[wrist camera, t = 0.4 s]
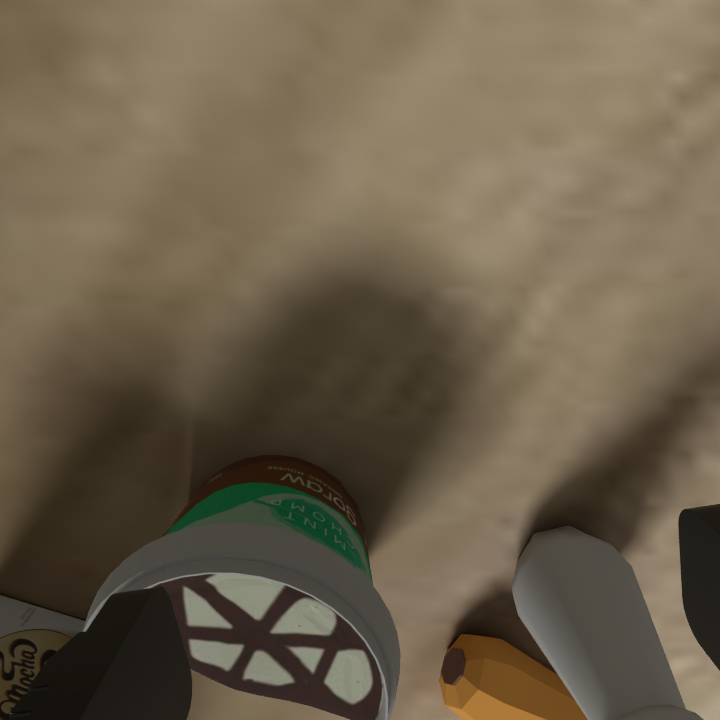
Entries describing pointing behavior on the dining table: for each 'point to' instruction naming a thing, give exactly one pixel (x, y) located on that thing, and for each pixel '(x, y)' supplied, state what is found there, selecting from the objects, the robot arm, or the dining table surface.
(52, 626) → the coffee box
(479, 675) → the carrot
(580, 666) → the salt shaker
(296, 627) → the food container
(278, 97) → the dining table surface
